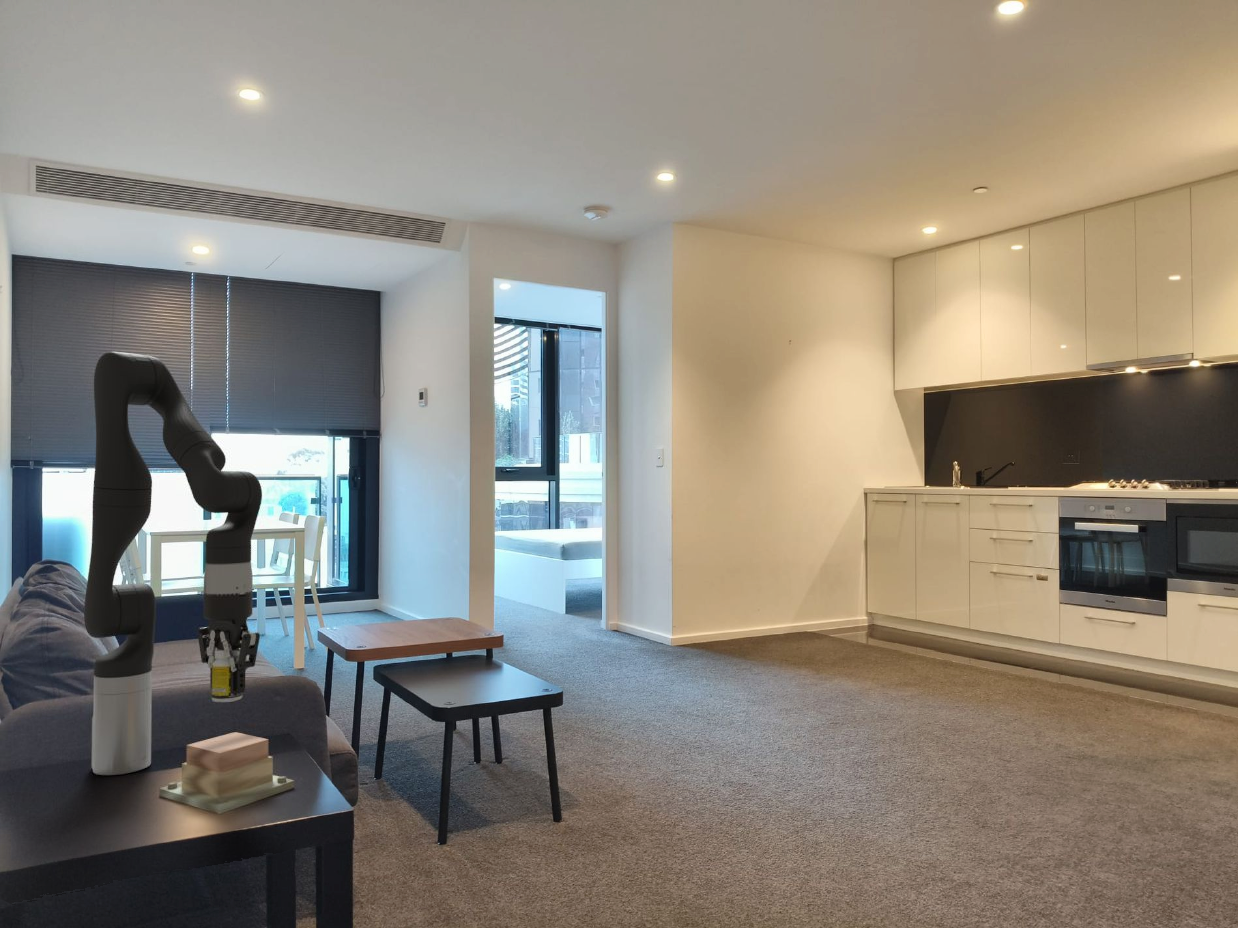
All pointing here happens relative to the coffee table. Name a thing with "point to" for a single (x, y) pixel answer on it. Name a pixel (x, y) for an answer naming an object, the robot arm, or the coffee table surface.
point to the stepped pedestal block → (226, 774)
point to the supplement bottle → (222, 678)
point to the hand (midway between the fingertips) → (227, 690)
